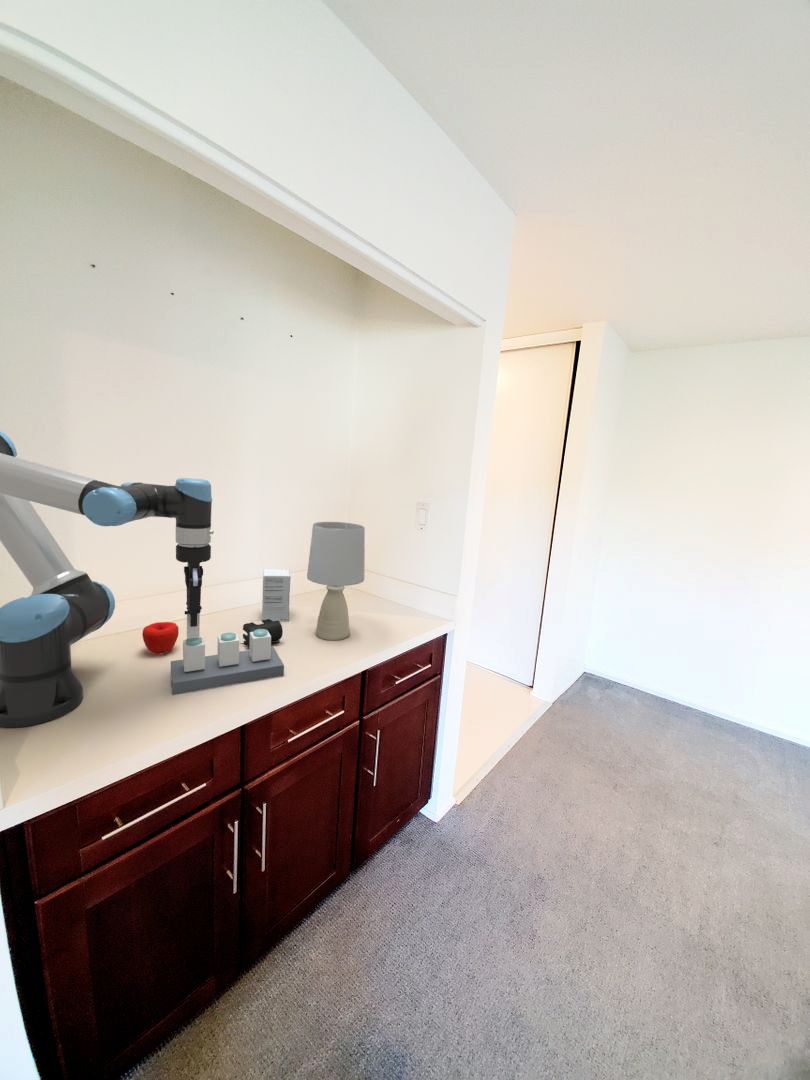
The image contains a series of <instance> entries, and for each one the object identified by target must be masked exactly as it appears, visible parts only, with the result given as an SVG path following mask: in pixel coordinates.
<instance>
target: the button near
mask: <svg viewBox="0 0 810 1080" xmlns="http://www.w3.org/2000/svg"><path fill="white" fill-rule="evenodd" d="M205 656H206V643H205V639H204V637H201V636H199V638H190V639H187V638H186V639H182V660H183V666H184V672H188V671H195V670H201V669H205Z"/></svg>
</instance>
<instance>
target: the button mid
mask: <svg viewBox="0 0 810 1080" xmlns="http://www.w3.org/2000/svg"><path fill="white" fill-rule="evenodd" d="M239 652H240V639H239V637H238V634H237V633H235V632H224V633H222V634H221V635H217V655H218V656H217V659H218V662H219V666H220V667H221V666H227V665H234V664H239Z"/></svg>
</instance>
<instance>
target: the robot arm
mask: <svg viewBox="0 0 810 1080" xmlns="http://www.w3.org/2000/svg"><path fill="white" fill-rule="evenodd" d="M17 456H18V452H17V447H16V445H15V444H14V442H13V441H12V439H11V438H10V436H8V435H7V434H6V433H5V432H3V431H2V430H0V543H1V544H2V546H3V547H4V548H5V550H6V551H7V552H8V554H9V556H10V557H11V558H12V559H13V561H14V563H15V564H16V566H17V567H18V568H19V569H20V571H21V572H22V574H23V575H24V577H25V578H26V580H27V581H28V582H29V584H30V585H31V586H32V591H31V594H30V595H28V597H19V598H17V599H13V600H11V601H9V602H7V603H5V604H4V605H2V606H1V607H0V727H2V728H3V727H4V728H22V727H29V726H34V725H39V724H44V723H45V722H49V721H51V720H55V719H57V718H60V717H62V716H64V715H67V714H68V713H70V712H72V711H73V710H74V709H76V708H77V707H79V705H80V704H81V703H82V701H83V699H84V691H83V690H84V689H83V685H82V684H81V682H80V681H81V680H80V679H79V678H78V675H77V674H76V672H75V671H74V668H73V666H72V653H71V652H72V650H71V647H72V645H73V644H76V643H77V642H78V641H81V640H82V639H84V638H85V637H86V636H88V635H90V634H91V633H93V632H96V631H98V630H100V629H101V627H103V626H104V625H105V624H106V623H107V622H108V621H110V619H111V618H112V617H113V614H114V611H115V608H116V600H115V596H114V594H113V592H112V590H111V589H110V588H109V587H108V586H107V585H105V584H103V583H99V582H98V581H94V580H93V581H92V579H91V578H90V575H89V574H88V573H87V572H85V571H83V570H77V569H76V568H75V567H74V565H73V564H72V562H71V561H70V560H69V558H68V557H67V556H66V554H65V552H64V551H63V549H62V548H61V546H60V545H59V543H58V542H57V540H56V539H55V537H54V536H53V534H52V533H51V531H50V530H49V528H48V527H47V526H46V524H45V522H44V521H43V519H42V518H41V516H40V515H39V514H38V512H37V510H36V508H34V506H33V504H32V503H31V502H33V503H35V504H36V503H37V504H41V505H44V506H47V507H48V506H49V507H51V508H56V509H59V510H63V511H66V512H71V513H74V514H78V515H82V516H85V517H86V518H87V519H88V520H89V521H90V522H92V523H93V524H95V525H97V526H100V527H118V526H122V525H125V524H126V523H127V524H128V523H131V522H135V521H138V520H139V521H140V520H142V519H147V518H150V517H152V518H153V517H154V518H169V519H175V543H177V544H176V546H175V559H176V560H177V562H181V563H187V564H186V565H185V566H183V573H184V583H185V586H186V603H185V604H186V610H184V615H186V639H190V638H199V637H200V623H201V622H200V618H201V617H200V615H201V611H202V610H203V607H202V606H201V599H202V597H201V596H202V585H203V576H204V568H203V565H201V563H205V562H208V561H210V559H211V558H212V552H211V551H212V546H211V545H210V543H211V542H212V541H211V539H212V536H211V535H213V534H214V530H213V529H212V504H213V497H212V484H211V482H210V481H208V480H206V479H202V478H201V479H200V478H190V477H187V478H186V477H179V478H176V481H175V484H174V485H165V484H155V483H154V484H153V483H143V482H124V483H121V484H120V486H119V485H114V484H111V483H107V482H104V481H101V480H97V479H94V478H90V477H87V476H84V475H80V474H77V473H72V472H70V471H66V470H62V469H59V468H56V467H52V466H48V465H44V464H42V463H41V464H40V463H39V462H38V463H37V462H34V461H30V460H26V459H23V458H20V457H17Z"/></svg>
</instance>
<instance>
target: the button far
mask: <svg viewBox="0 0 810 1080" xmlns="http://www.w3.org/2000/svg"><path fill="white" fill-rule="evenodd" d="M271 647H272V642H271V635H270V634H269V632H268V630H266V629H257V630H254V631H253V632H250V647H248V649H249V655H250V657H251V659H252V661H253V662H254V661H260V660H267V659H270V658H271Z"/></svg>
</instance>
